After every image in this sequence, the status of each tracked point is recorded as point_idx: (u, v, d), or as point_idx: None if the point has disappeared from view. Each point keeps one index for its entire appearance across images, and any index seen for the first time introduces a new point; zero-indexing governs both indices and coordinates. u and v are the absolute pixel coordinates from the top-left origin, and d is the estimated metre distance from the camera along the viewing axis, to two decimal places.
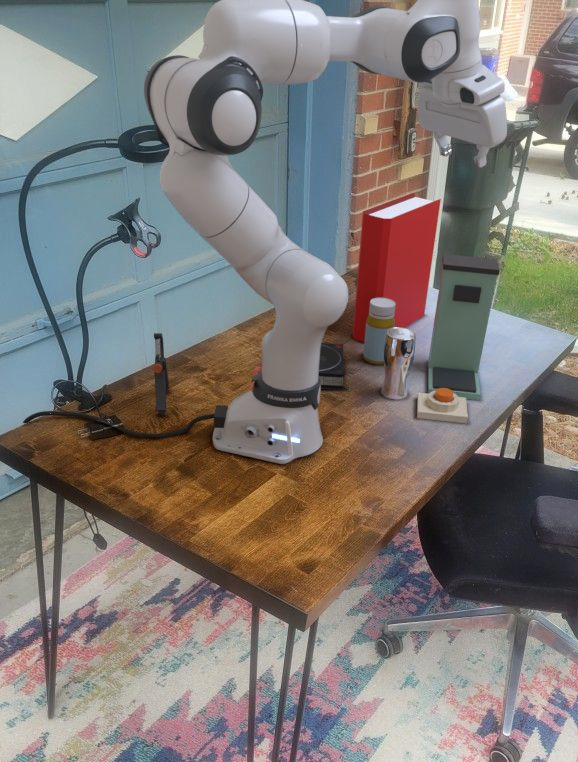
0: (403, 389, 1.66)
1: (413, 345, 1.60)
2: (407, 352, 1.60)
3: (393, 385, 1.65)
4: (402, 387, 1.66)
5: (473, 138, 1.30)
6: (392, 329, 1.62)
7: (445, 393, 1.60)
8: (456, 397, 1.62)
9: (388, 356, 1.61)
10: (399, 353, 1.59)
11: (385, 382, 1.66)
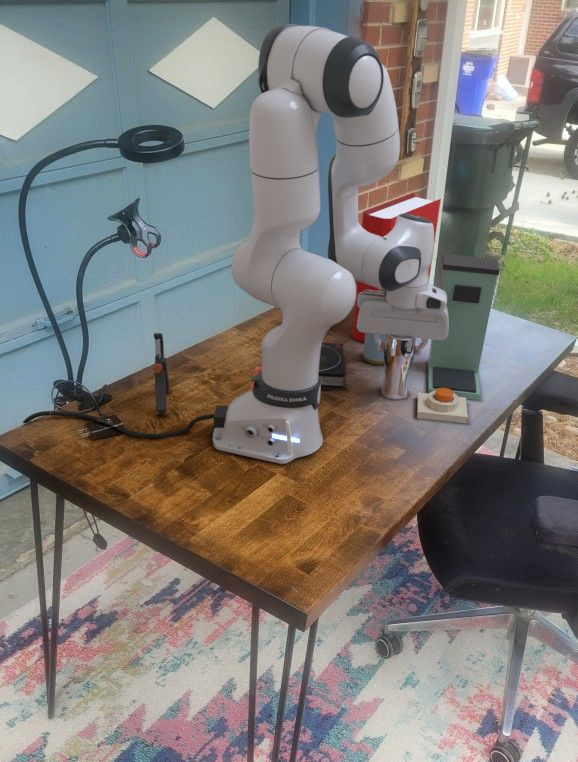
0: (403, 389, 1.66)
1: (413, 345, 1.60)
2: (407, 352, 1.60)
3: (393, 385, 1.65)
4: (402, 387, 1.66)
5: (425, 334, 1.58)
6: None
7: (445, 393, 1.60)
8: (456, 397, 1.62)
9: (388, 356, 1.61)
10: (399, 353, 1.60)
11: (385, 382, 1.66)
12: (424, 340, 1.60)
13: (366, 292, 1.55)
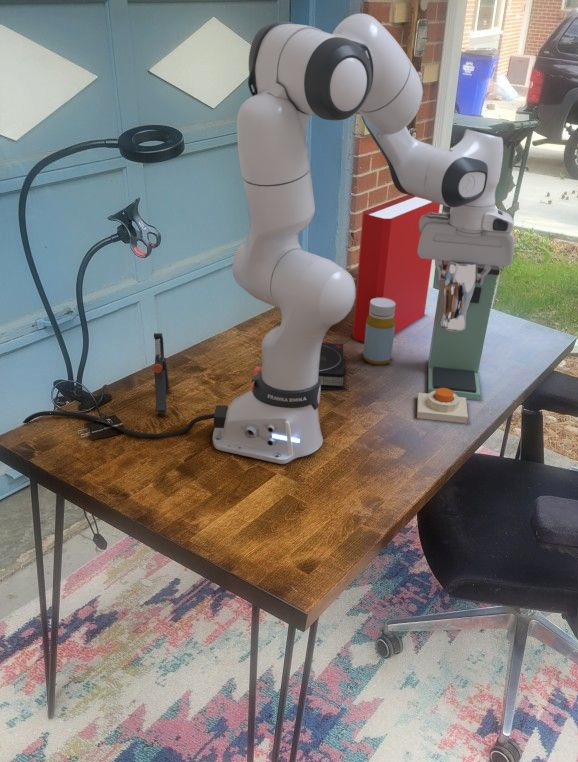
0: (463, 320, 1.61)
1: (476, 272, 1.54)
2: (470, 279, 1.54)
3: (453, 316, 1.60)
4: (462, 318, 1.60)
5: (489, 260, 1.52)
6: None
7: (445, 393, 1.60)
8: (456, 397, 1.62)
9: (449, 284, 1.55)
10: (461, 280, 1.54)
11: (444, 313, 1.61)
12: (487, 267, 1.54)
13: (429, 215, 1.49)
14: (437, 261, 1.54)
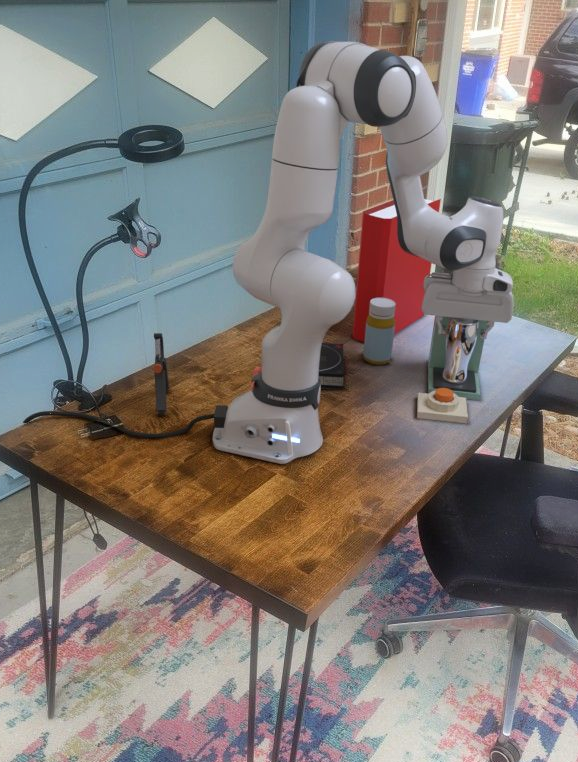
0: (464, 374, 1.70)
1: (476, 330, 1.63)
2: (470, 337, 1.63)
3: (455, 370, 1.69)
4: (463, 372, 1.69)
5: (490, 317, 1.61)
6: None
7: (445, 393, 1.60)
8: (456, 397, 1.62)
9: (451, 341, 1.64)
10: (462, 338, 1.63)
11: (446, 367, 1.70)
12: (490, 323, 1.63)
13: (433, 275, 1.58)
14: (438, 317, 1.63)
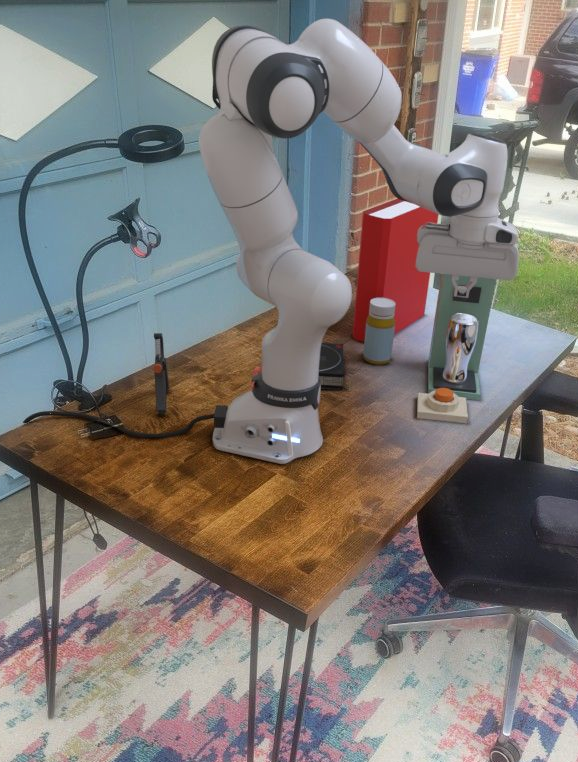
0: (464, 374, 1.70)
1: (476, 330, 1.63)
2: (470, 337, 1.63)
3: (455, 370, 1.69)
4: (463, 372, 1.69)
5: (492, 274, 1.43)
6: (455, 314, 1.65)
7: (445, 393, 1.60)
8: (456, 397, 1.62)
9: (451, 341, 1.64)
10: (462, 338, 1.63)
11: (446, 367, 1.70)
12: (473, 279, 1.45)
13: (428, 225, 1.40)
14: (454, 276, 1.45)
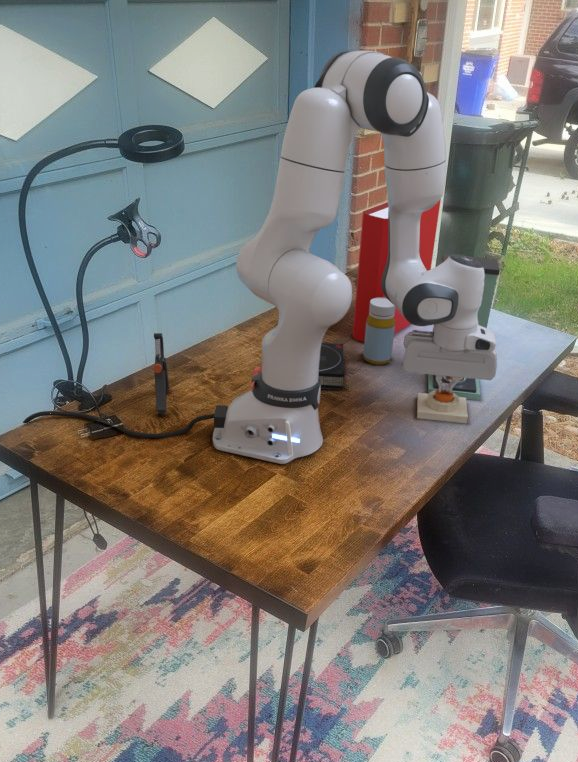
0: None
1: None
2: None
3: None
4: None
5: (473, 374, 1.56)
6: None
7: (445, 394, 1.60)
8: (456, 397, 1.62)
9: None
10: None
11: None
12: (455, 378, 1.58)
13: (413, 333, 1.53)
14: (438, 376, 1.58)
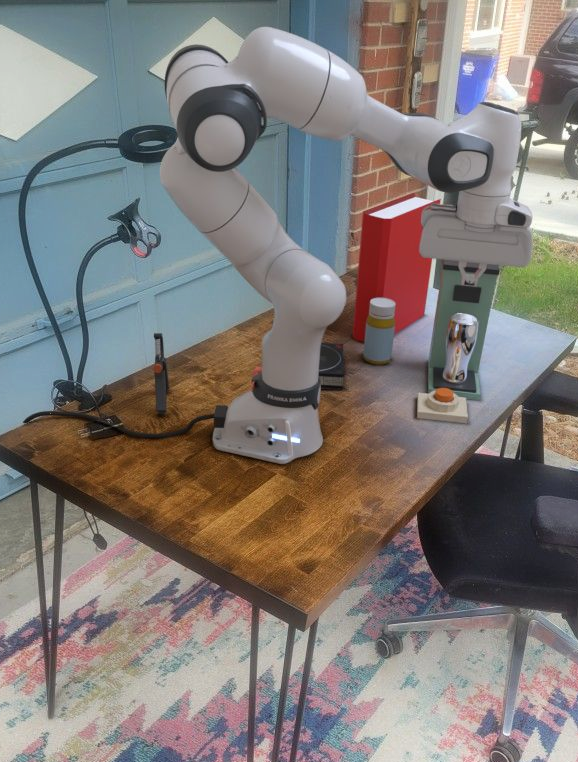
0: (464, 374, 1.70)
1: (476, 330, 1.63)
2: (470, 337, 1.63)
3: (455, 370, 1.69)
4: (463, 372, 1.69)
5: (503, 260, 1.30)
6: (455, 314, 1.65)
7: (445, 393, 1.60)
8: (456, 397, 1.62)
9: (451, 341, 1.64)
10: (462, 338, 1.63)
11: (446, 367, 1.70)
12: (482, 266, 1.32)
13: (433, 206, 1.27)
14: (461, 263, 1.32)
